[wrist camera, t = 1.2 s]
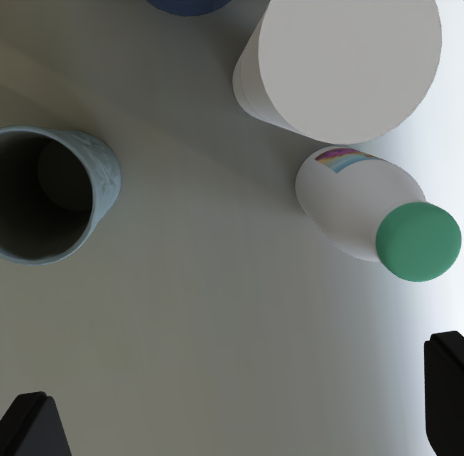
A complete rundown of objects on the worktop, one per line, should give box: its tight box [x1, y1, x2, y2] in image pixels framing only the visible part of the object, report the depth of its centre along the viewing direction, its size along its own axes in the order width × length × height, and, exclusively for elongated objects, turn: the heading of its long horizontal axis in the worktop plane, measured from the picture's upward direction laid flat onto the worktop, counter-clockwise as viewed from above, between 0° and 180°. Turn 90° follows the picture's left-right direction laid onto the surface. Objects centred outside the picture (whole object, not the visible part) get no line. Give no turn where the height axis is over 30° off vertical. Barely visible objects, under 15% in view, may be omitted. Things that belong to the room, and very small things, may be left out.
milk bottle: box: [295, 146, 461, 282], centre depth 34 cm, size 8×8×20 cm
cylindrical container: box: [232, 0, 442, 144], centre depth 29 cm, size 7×7×25 cm
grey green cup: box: [0, 125, 121, 265], centre depth 37 cm, size 10×10×12 cm
